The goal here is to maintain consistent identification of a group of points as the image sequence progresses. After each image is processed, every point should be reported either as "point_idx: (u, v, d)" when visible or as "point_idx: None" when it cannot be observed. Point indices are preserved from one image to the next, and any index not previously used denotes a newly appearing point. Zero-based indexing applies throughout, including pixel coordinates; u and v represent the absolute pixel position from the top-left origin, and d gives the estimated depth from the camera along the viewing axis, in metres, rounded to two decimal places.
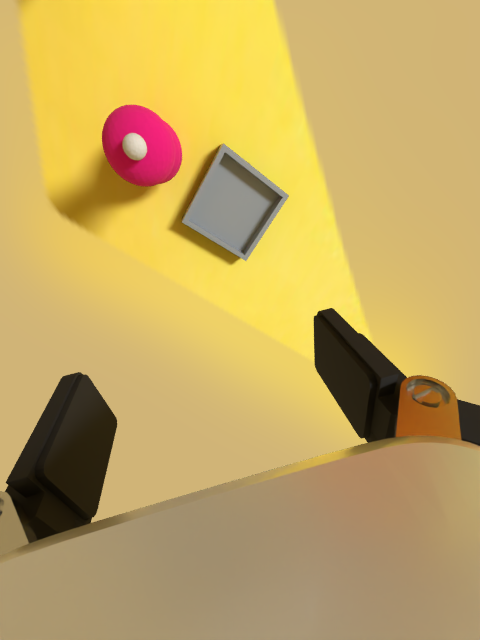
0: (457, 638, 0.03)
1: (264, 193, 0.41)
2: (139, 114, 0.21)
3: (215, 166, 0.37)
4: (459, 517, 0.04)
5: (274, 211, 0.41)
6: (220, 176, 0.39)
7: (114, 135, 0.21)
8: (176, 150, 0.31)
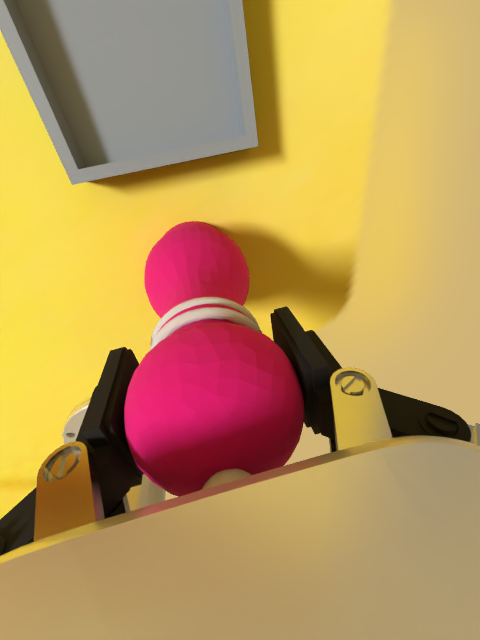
0: (457, 638, 0.03)
1: None
2: None
3: (115, 166, 0.16)
4: (459, 517, 0.04)
5: None
6: (120, 136, 0.17)
7: None
8: (161, 264, 0.15)
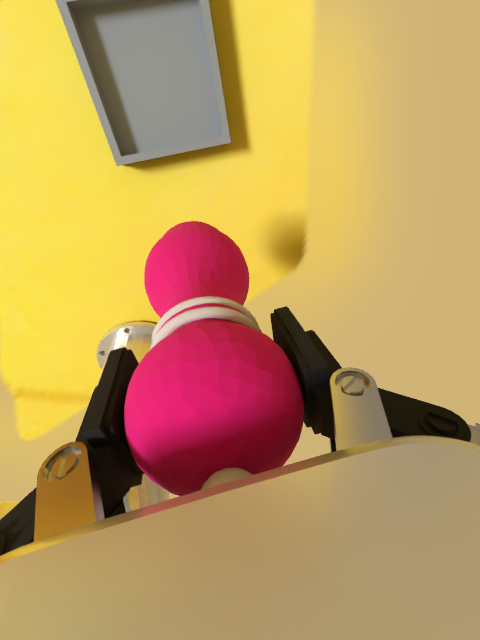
0: (457, 638, 0.03)
1: (97, 46, 0.23)
2: (160, 486, 0.08)
3: (143, 154, 0.27)
4: (459, 517, 0.04)
5: None
6: (146, 136, 0.27)
7: None
8: (160, 263, 0.15)
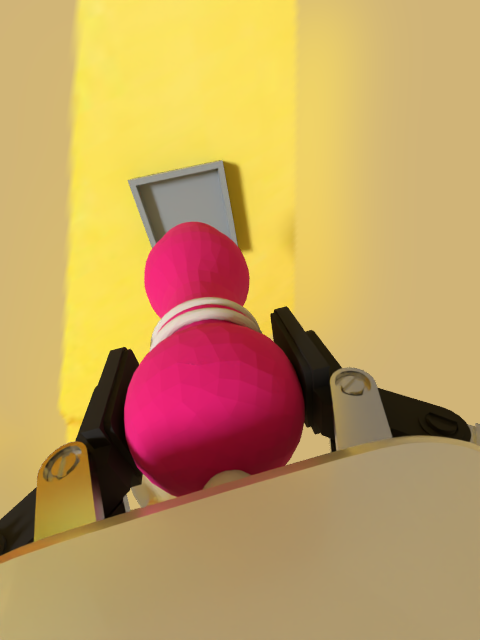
0: (457, 638, 0.03)
1: (151, 201, 0.35)
2: None
3: None
4: (459, 517, 0.04)
5: (153, 180, 0.33)
6: None
7: None
8: (161, 264, 0.15)
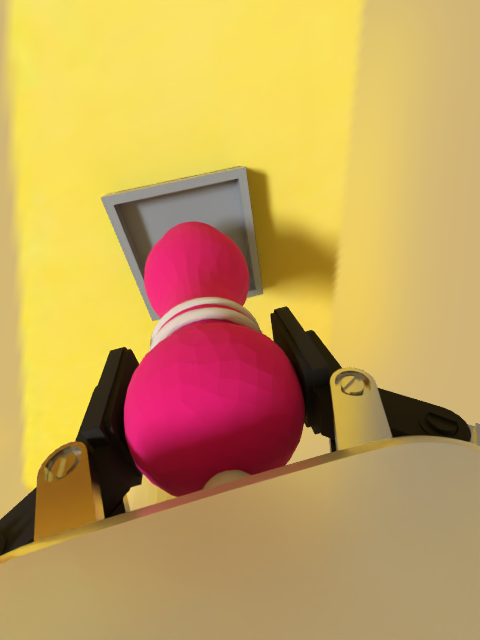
0: (457, 638, 0.03)
1: (138, 225, 0.24)
2: (160, 488, 0.08)
3: None
4: (459, 517, 0.04)
5: (141, 196, 0.21)
6: None
7: None
8: (160, 264, 0.15)
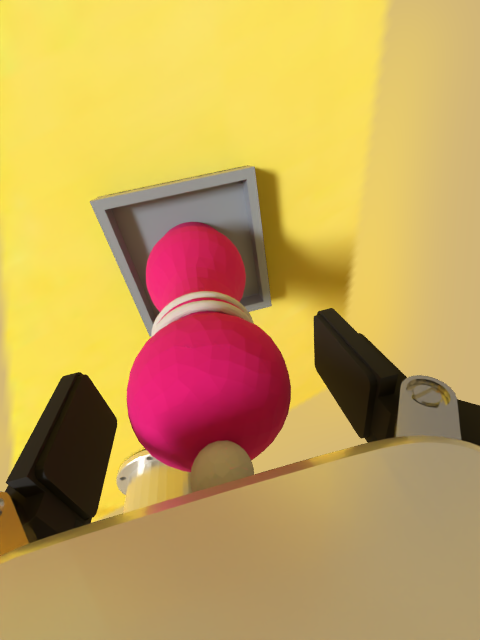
0: (457, 638, 0.03)
1: (134, 232, 0.22)
2: (159, 460, 0.09)
3: None
4: (459, 517, 0.04)
5: (136, 200, 0.19)
6: None
7: None
8: (161, 261, 0.16)
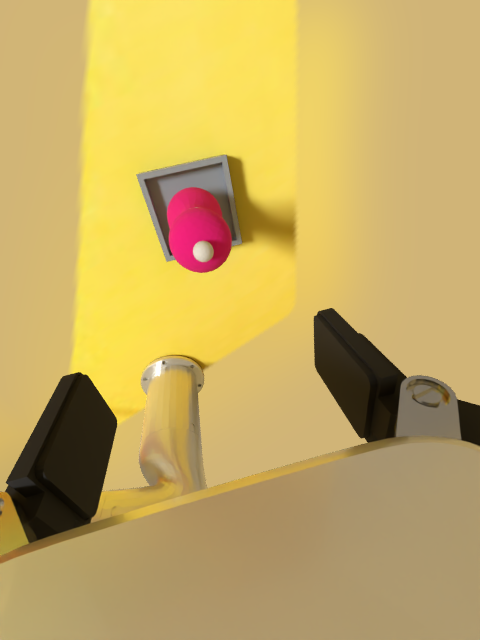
0: (457, 638, 0.03)
1: (158, 194, 0.37)
2: (181, 259, 0.24)
3: None
4: (459, 517, 0.04)
5: (160, 174, 0.34)
6: None
7: (209, 265, 0.25)
8: (176, 203, 0.32)
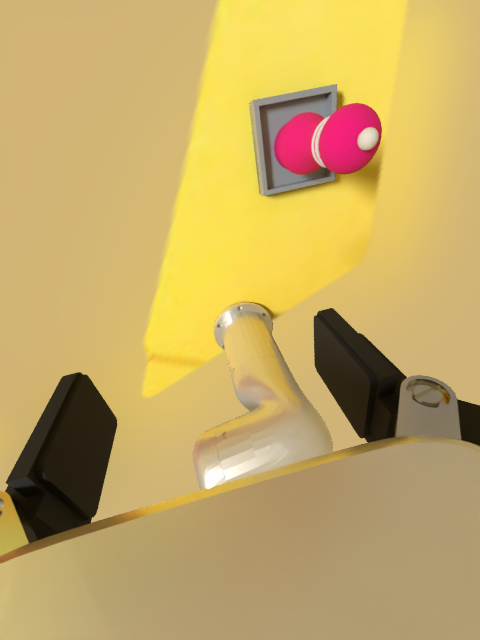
0: (457, 638, 0.03)
1: (264, 125, 0.39)
2: (338, 153, 0.26)
3: (281, 188, 0.42)
4: (459, 517, 0.04)
5: (275, 101, 0.36)
6: (280, 176, 0.42)
7: (361, 159, 0.26)
8: (298, 123, 0.33)
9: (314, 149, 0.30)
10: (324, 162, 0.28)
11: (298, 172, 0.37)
